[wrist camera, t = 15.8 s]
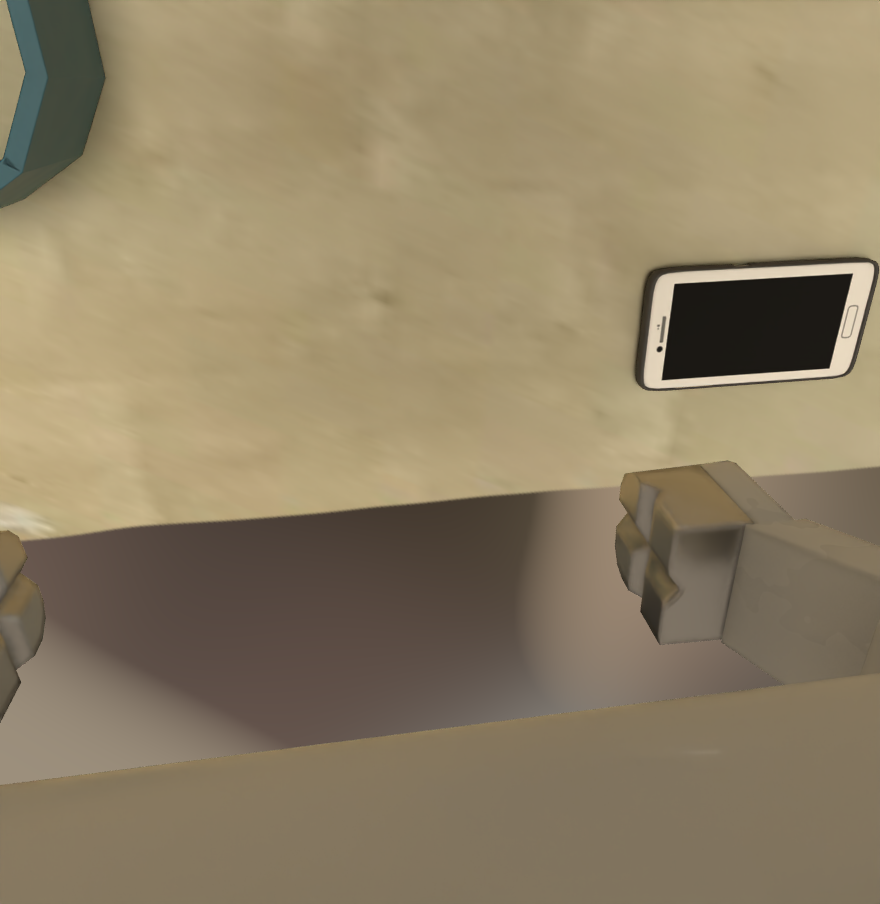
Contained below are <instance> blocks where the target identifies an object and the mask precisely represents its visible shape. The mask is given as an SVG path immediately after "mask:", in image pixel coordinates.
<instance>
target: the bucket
mask: <svg viewBox="0 0 880 904" xmlns="http://www.w3.org/2000/svg"><path fill="white" fill-rule="evenodd" d="M6 2H7V5H8V9H9V13H10V17H11V20H12V24H13V28H14V31H15V35H16V39H17V42H18V46H19V50H20V54H21V57H22V61H23V65H24V68H25V72H26V73H25V77H24V80H23V84H22V88H21V92H20V96H19V100H18V103H17V107H16V111H15V115H14V119H13V123H12V127H11V130H10V134H9V138H8V142H7V146H6V150H5V154H4V157H3V159H2V160H1V161H0V208H3V207H5V206H8V205H10V204H13V203H15V202H18V201H20V200H23V199H25V198H26V197H27V196H29V195H30V194H31V193H33V192H34V191H35V190H37V189H38V188H39V187H41V186H42V185H43V184H45V183H46V182H47V181H49V180H50V179H51V178H52V177H54V176H55V175H56V174H58V173H59V172H60V171H62V170H63V169H64V168H66V167H67V166H68V165H70V164H71V163H72V162H74V161H75V160H76V159H77V158H79V157H80V156H81V155H82V154H83V150H84V147H85V144H86V140H87V137H88V134H89V130H90V127H91V124H92V120H93V117H94V114H95V110H96V107H97V104H98V100H99V97H100V94H101V90H102V87H103V84H104V80H105V75H104V70H103V66H102V61H101V57H100V52H99V48H98V43H97V39H96V35H95V30H94V26H93V21H92V17H91V12H90V8H89V3H88V0H6Z"/></svg>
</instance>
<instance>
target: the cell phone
mask: <svg viewBox="0 0 880 904" xmlns="http://www.w3.org/2000/svg"><path fill="white" fill-rule="evenodd" d="M878 274H879V266H878V263H877V262H876V261H873V260H870V259H867V258H840V259H821V260H803V261H784V262H765V263H748V264H747V265H746V266H734V265H732V264H727V265H709V266H690V267H671V268H665V269H659V270H656V271H654V272H652V273H651V275H650V276H649V278H648V281H647V284H646V290H645V297H644V306H643V314H642V323H641V332H640V340H639V349H638V358H637V366H636V380H637V383H638V384H639V386H640V387H642V388H643V389H645V390H650V391H668V390H682V389H696V388H710V387H724V386H737V385H751V384H765V383H779V382H793V381H807V380H820V379H833V378H838V377H843V376H846V375H848V374H849V373H850V372H851V370H852V369H853V367H854V364H855V362H856V358H857V355H858V351H859V348H860V344H861V340H862V336H863V333H864V329H865V325H866V321H867V317H868V314H869V310H870V306H871V302H872V299H873V295H874V291H875V287H876V284H877V279H878ZM705 385H712V386H705ZM691 386H698V387H691ZM677 387H684V388H677Z"/></svg>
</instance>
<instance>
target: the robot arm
mask: <svg viewBox="0 0 880 904" xmlns="http://www.w3.org/2000/svg"><path fill="white" fill-rule="evenodd" d="M619 500H620V502H621V503H622V505H623V506H624V508H625V509H626V511H627V514H626V515H625V517H624V518H623V519H622V520H621V521H620V523H619V524H618V525H617V526H616V540H615V550H616V558H617V565H618V568H619V571H620V574H621V577H622V579H623V581H624V583H625V585H626V587H627V588H628V590H629V591H631V592H633V593H634V594H636V595H638V596H640V597H642V604H641V613H642V615H643V617H644V619H645V620H646V622H647V624H648V625H649V627H650V629H651V631H652V632H653V634H654V636H655V638H656V639H657V641H658V643H659V644H660V645H665V644H676V643H687V642H697V641H707V640H708V641H709V640H719V639H722V641H721V642H722V643H723V644H725V645H726V646H728V647H729V648H731V649H732V650H733V651H735V652H736V653H738V654H739V655H741V656H742V657H744V658H745V659H747V660H748V661H750V662H751V663H752V664H754V665H756V666H757V667H758V668H760V669H761V670H763V671H764V672H766V673H767V674H768V675H770V676H771V677H773V678H774V679H776V680H777V681H779V682H780V683H782V684H783V685H780V686H772V687H764V688H756V689H749V690H741V691H733V692H725V693H717V694H709V695H702V696H694V697H686V698H679V699H670V700H663V701H655V702H647V703H639V704H632V705H624V706H616V707H608V708H601V709H593V710H585V711H577V712H570V713H561V714H554V715H546V716H538V717H531V718H522V719H515V720H507V721H499V722H491V723H484V724H475V725H467V726H460V727H452V728H445V729H437V730H428V731H421V732H413V733H406V734H397V735H390V736H382V737H374V738H366V739H359V740H350V741H343V742H335V743H327V744H319V745H311V746H303V747H296V748H288V749H280V750H272V751H264V752H256V753H249V754H241V755H233V756H225V757H217V758H209V759H201V760H194V761H186V762H178V763H170V764H162V765H154V766H146V767H139V768H131V769H123V770H115V771H107V772H99V773H92V774H84V775H77V776H68V777H61V778H52V779H45V780H37V781H30V782H22V783H13V784H5V785H0V904H880V546H878V545H875V544H872V543H870V542H867V541H864V540H862V539H859V538H856V537H854V536H851V535H848V534H845V533H843V532H840V531H837V530H835V529H832V528H829V527H826V526H824V525H821V524H818V523H816V522H813V521H810V520H808V519H798V520H794V519H793V518H792V517H791V516H790V515H789V514H788V513H787V512H786V511H785V510H784V509H783V508H782V507H781V506H780V505H779V504H778V503H777V502H776V501H775V500H774V499H773V498H771V497H770V496H769V495H768V494H767V493H766V492H765V491H764V490H763V489H762V488H761V487H760V486H759V485H758V484H757V483H756V482H755V481H754V480H753V479H752V478H751V477H750V476H749V475H748V474H747V473H746V472H745V471H744V470H742V469H741V468H740V467H739V466H738V465H737V464H736V463H734V462H730V461H720V462H713V463H706V464H698V465H690V466H682V467H673V468H665V469H657V470H648V471H640V472H632V473H626V474H625V475H624V477H623V480H622V483H621V488H620V498H619ZM26 560H27V555H26V553H25V551H24V548H23V546H22V544H21V541H20V539H19V537H18V536H17V535H15V534H13V533H12V532H10V531H9V530H7V531H0V722H1V720H2V718H3V716H4V714H5V712H6V710H7V709H8V706H9V705H10V703H11V701H12V699H13V697H14V695H15V693H16V691H17V689H18V687H19V686H20V684H21V681H20V679H19V676H18V674H17V671H16V670H17V669H18V668H19V667H21V666H22V665H23V664H25V663H26V662H27V661H29V660H30V659H31V658H33V657H34V656H35V654H36V652H37V650H38V648H39V646H40V644H41V642H42V639H43V633H44V625H45V619H46V618H45V610H44V603H43V598H42V596H41V593H40V590H39V587H38V585H37V584H35V583H34V582H32V581H31V580H30V579H28V578H27V577H26V576H24V575H23V574H21V573H20V572H21V570H22V568H23V566H24V563H25V562H26Z"/></svg>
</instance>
